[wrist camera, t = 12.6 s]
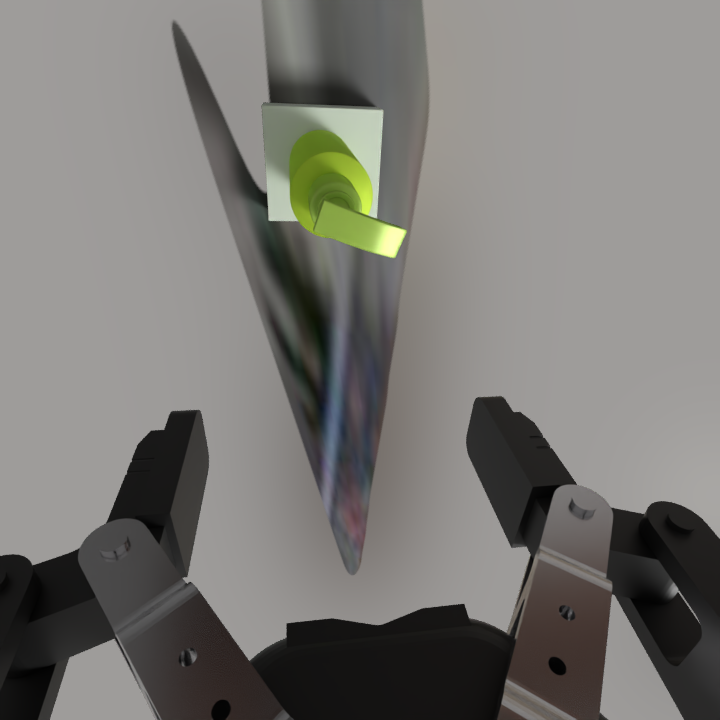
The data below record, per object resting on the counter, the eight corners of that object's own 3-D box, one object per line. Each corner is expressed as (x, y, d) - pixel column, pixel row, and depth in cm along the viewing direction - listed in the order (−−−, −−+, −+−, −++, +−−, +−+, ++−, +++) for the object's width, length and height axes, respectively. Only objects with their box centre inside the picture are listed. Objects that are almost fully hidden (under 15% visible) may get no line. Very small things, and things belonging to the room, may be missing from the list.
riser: (263, 102, 43) (261, 105, 40) (376, 106, 45) (383, 110, 41) (270, 210, 49) (269, 220, 45) (370, 211, 50) (376, 221, 47)
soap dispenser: (348, 209, 46) (383, 290, 29) (281, 183, 44) (277, 255, 27) (371, 148, 43) (423, 200, 26) (300, 119, 41) (308, 154, 24)
